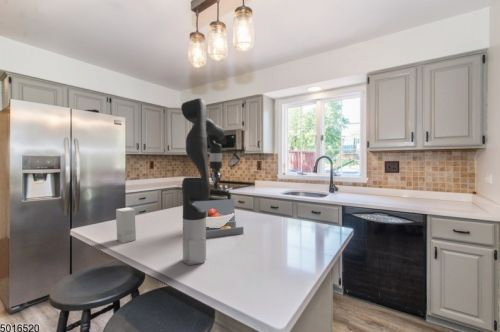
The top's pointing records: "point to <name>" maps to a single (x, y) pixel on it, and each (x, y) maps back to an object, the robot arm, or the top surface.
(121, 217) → the skincare box
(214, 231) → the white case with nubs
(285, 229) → the top surface
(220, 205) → the cover
